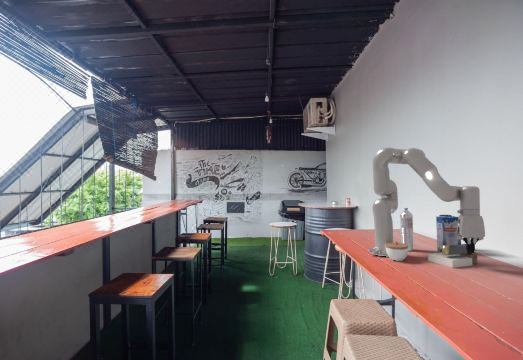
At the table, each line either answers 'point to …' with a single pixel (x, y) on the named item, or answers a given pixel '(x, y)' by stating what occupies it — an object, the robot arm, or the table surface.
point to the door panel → (450, 260)
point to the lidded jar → (397, 251)
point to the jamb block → (473, 256)
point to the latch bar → (454, 249)
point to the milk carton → (446, 231)
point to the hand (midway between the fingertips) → (470, 252)
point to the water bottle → (407, 229)
